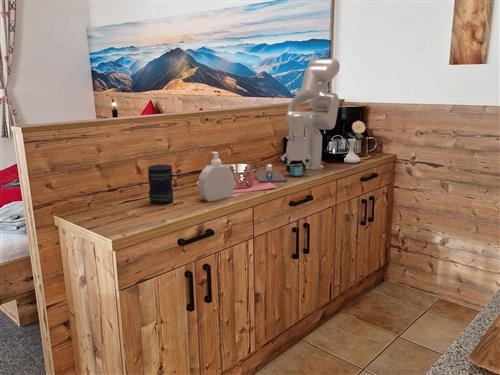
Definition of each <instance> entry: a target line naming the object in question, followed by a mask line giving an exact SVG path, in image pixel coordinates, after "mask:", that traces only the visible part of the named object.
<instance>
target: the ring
mask: <svg viewBox="0 0 500 375" xmlns="http://www.w3.org/2000/svg"><path fill="white" fill-rule="evenodd" d="M289 165H290V164H289ZM288 174H289V175H291V176H302V175H304V172H303V166H302V164H291V165H290V173H288Z"/></svg>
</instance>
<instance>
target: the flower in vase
mask: <svg viewBox="0 0 500 375" xmlns="http://www.w3.org/2000/svg"><path fill="white" fill-rule="evenodd" d="M351 129H352V131H353V132H354V133H356V134H355V136H354V135H352V134H350V133H348V136H349V137H350V138H348V139H347V141H348V144H349V151H348V152H347V153H348V154H347V153H346V154H347V155H346V154H345V155H346V157H345V158H344V163H349V164H357V163H360V162H361V158H360V156H358V155H357V154H356V152H355V151H354V150H355V149H354V147H355V142H357V139H355V138H356V137H357V138H358V139H361V138H364V135H363V134H362V133H364V132H365V130H366V129H367V128H366V124H365V123H364V122H363V121H361V120H356V121H355V122H353V123H352V126H351ZM351 137H352V138H351Z"/></svg>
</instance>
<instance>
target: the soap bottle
mask: <svg viewBox="0 0 500 375" xmlns="http://www.w3.org/2000/svg"><path fill="white" fill-rule="evenodd" d="M210 152H211V154H212V155H213V158H212V159H211V160H210V164H208V165H206V166H204V168H203V169H202V171H201V172H200V174H199V177H198V183H197V188H198V195H199V196H200V197H201V199H202V200H204V201H206V202H215V201H219V200H224V199H228V198H231V196H232V194H233V192H234V189H235V176H234V173H233V172H231V170H232V169H231V170H230V169H229V166H228V167H227V166H226V165H225V164H222V160H221V159H220V158H219V152H218V151H210Z"/></svg>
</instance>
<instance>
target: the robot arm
mask: <svg viewBox="0 0 500 375" xmlns="http://www.w3.org/2000/svg"><path fill="white" fill-rule="evenodd" d="M340 66H341V65H340V62H339V60H338V59H336V58H314V59H311V60H310V61H309V62H308V64H307V67H306V68H305V70H304V75H303V79H302V83H301V87H300V91H299V93H297V94H296V95H295V96H294V97H293V98H292V99H291V101H290V102H289V103H288V107H287V112H286V116H285V120H286V124H287V125H288V126H289V127H288V128H289V129H288V135H286V140H288V141H286V142H287V143H286V148H285V149H286V152H284V154H283V155H281V156H280V160H282V162H283V163H284V164H285V165H286V171H287V173H288V174H289V173H290V164H291V162H295V161H296V162H297V161H301V162H302V163H301V165H302V166H303V173H305V171H306V170H312V171H313V170H314V171H316V170H317V171H319V170H323V169H324V165H323V164H322V152H323V149H322V148H323V134H322V132H321V131H320V130H329V131H330V130H333V129H334V128H335V126H336V123H337V117H338V113H339V112H338V111H339V104H340V98H339V96H338V94H337V93H335V92H328V89H329V88H328V87H329V84H328V83H329V82H331V81H332V80H333V79H334V78H335V77H336V76H337V75H338V73H339V71H340ZM307 101H309V107H310V108H311V109H312V111H300V110H299V111H296V110H297V108H299V106H300V105H301V104H303V103H305V102H307ZM313 110H315V111H313ZM285 158H286V159H285Z"/></svg>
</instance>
